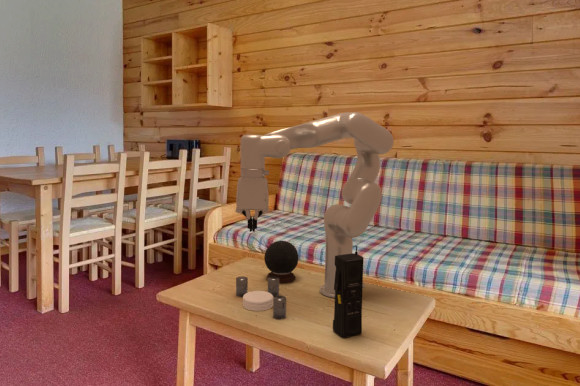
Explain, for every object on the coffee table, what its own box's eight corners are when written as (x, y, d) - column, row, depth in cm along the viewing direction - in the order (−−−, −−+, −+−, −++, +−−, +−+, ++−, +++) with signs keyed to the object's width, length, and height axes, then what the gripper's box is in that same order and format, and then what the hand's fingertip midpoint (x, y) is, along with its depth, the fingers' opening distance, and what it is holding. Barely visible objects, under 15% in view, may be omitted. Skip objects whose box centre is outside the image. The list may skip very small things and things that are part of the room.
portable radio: (340, 340, 125) (343, 252, 121) (328, 331, 130) (331, 247, 126) (363, 334, 128) (367, 249, 124) (351, 326, 133) (354, 244, 130)
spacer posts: (284, 292, 159) (284, 276, 158) (286, 319, 137) (286, 300, 136) (236, 292, 158) (236, 276, 158) (230, 319, 137) (230, 300, 136)
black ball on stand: (284, 287, 165) (284, 247, 162) (257, 279, 173) (257, 241, 170) (304, 278, 175) (305, 240, 173) (278, 271, 183) (279, 235, 181)
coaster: (248, 313, 141) (248, 303, 141) (239, 302, 150) (239, 292, 150) (277, 309, 145) (277, 298, 145) (266, 298, 154) (267, 288, 154)
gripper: (276, 173, 145) (275, 228, 148) (230, 172, 145) (230, 228, 148) (276, 175, 138) (275, 233, 141) (227, 175, 137) (227, 233, 140)
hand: (252, 230), depth 144 cm, fingers closed
